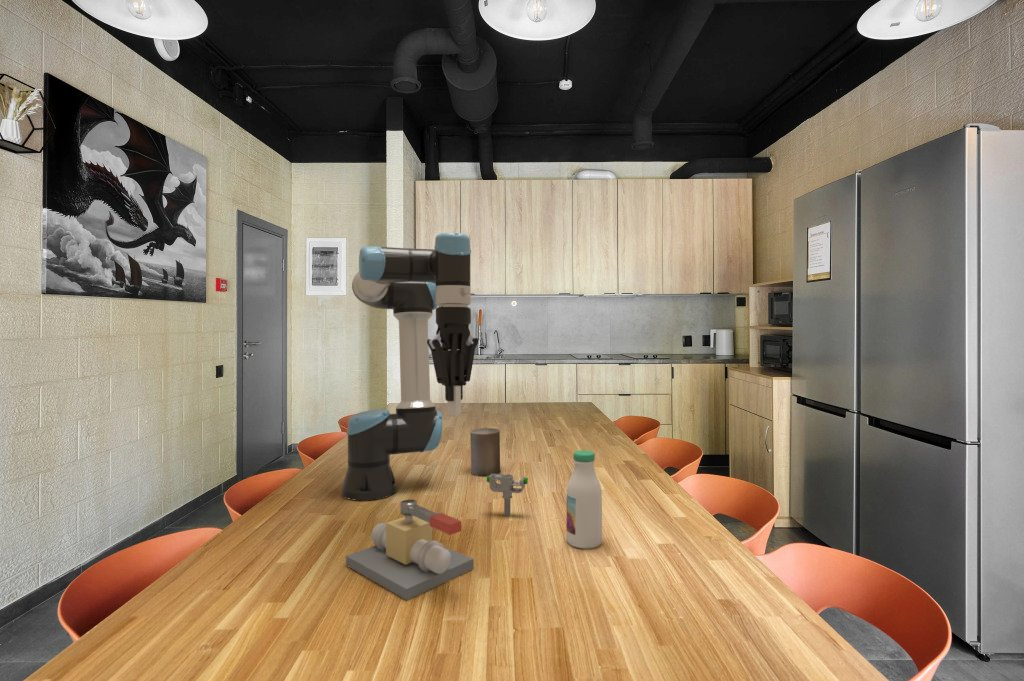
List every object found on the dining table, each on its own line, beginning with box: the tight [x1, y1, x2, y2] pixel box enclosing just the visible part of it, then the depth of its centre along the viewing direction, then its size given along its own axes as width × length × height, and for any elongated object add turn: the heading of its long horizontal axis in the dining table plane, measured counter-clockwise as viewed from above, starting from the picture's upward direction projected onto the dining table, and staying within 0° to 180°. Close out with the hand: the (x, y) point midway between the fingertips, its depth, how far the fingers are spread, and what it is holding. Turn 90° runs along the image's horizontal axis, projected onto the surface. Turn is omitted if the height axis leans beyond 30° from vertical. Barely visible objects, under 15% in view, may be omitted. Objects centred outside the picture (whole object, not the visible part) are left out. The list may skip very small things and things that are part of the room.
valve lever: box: [399, 499, 462, 536], centre depth 99 cm, size 17×3×2 cm, turn 44°
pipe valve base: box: [345, 515, 475, 601], centre depth 105 cm, size 20×16×11 cm
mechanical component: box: [486, 473, 529, 517], centre depth 133 cm, size 3×10×10 cm, turn 79°
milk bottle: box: [566, 449, 603, 550], centre depth 116 cm, size 8×8×20 cm
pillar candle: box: [469, 426, 501, 477], centre depth 172 cm, size 10×10×15 cm
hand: (454, 415), depth 114 cm, fingers closed
